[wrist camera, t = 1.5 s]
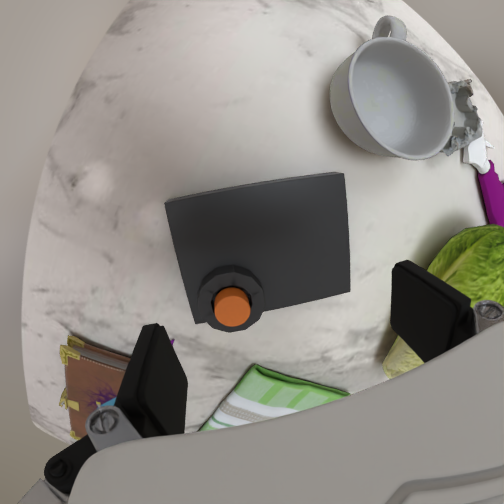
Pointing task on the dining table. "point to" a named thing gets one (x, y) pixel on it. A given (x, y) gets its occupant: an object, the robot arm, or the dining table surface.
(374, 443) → the robot arm
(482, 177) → the spray bottle
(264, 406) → the dish towel
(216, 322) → the scale
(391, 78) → the teacup
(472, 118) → the egg carton
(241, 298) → the button
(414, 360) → the lettuce
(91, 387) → the book
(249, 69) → the dining table surface
